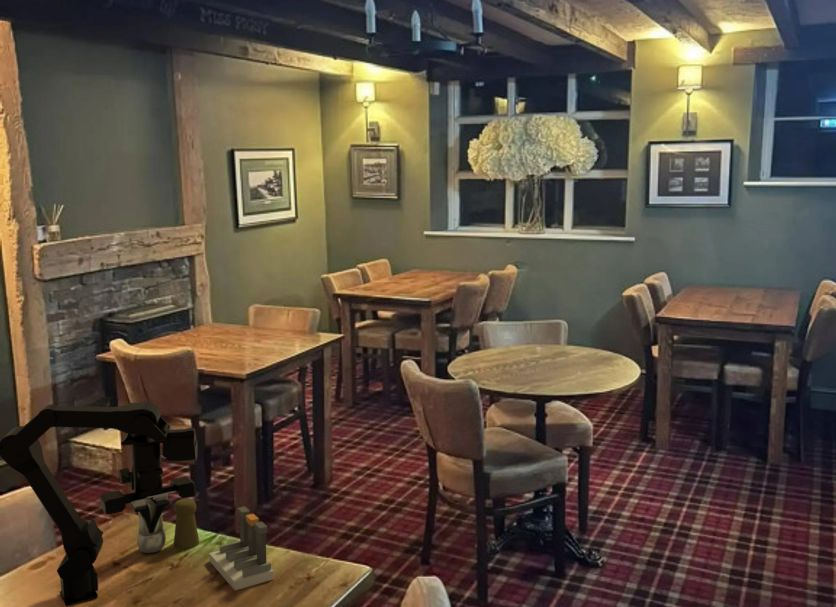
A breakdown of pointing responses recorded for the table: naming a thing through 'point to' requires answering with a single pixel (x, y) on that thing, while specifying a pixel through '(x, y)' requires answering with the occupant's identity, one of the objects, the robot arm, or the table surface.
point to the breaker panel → (240, 566)
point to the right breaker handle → (261, 542)
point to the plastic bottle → (150, 535)
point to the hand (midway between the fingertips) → (150, 532)
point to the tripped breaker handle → (252, 534)
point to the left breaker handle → (243, 526)
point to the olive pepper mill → (185, 524)
